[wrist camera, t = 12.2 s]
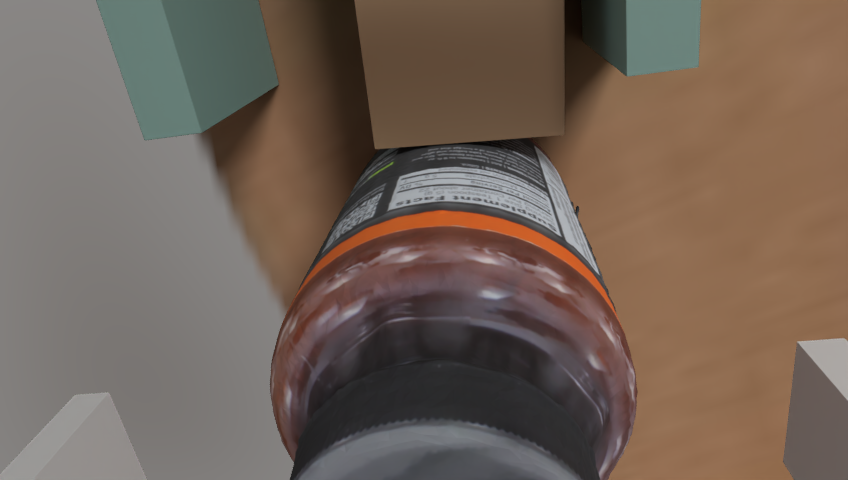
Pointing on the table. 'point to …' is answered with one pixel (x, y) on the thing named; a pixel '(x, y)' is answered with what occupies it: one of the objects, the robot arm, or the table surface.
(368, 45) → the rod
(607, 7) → the channel
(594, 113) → the table surface
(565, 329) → the supplement bottle
